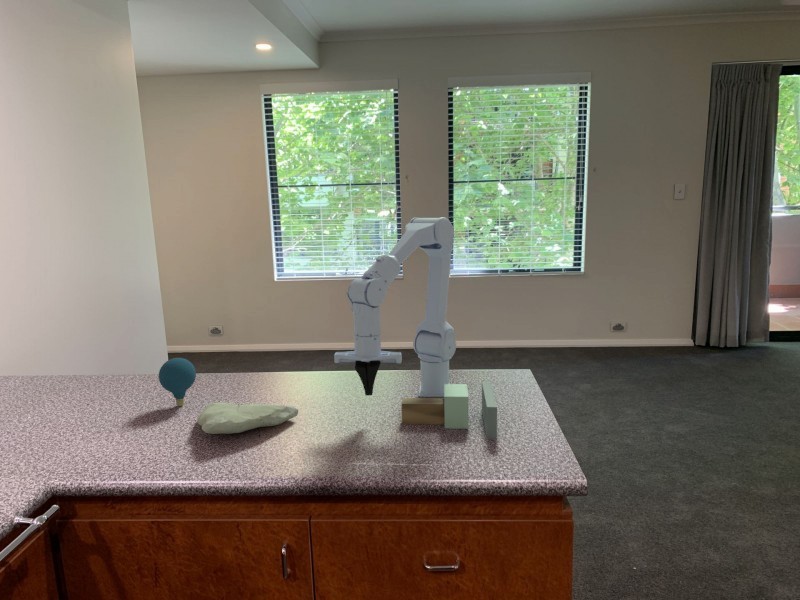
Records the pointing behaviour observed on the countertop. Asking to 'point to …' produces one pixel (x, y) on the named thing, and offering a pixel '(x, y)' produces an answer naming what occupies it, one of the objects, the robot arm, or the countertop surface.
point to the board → (489, 410)
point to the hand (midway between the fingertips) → (369, 393)
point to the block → (456, 406)
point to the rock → (242, 417)
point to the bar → (423, 411)
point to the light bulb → (177, 377)
